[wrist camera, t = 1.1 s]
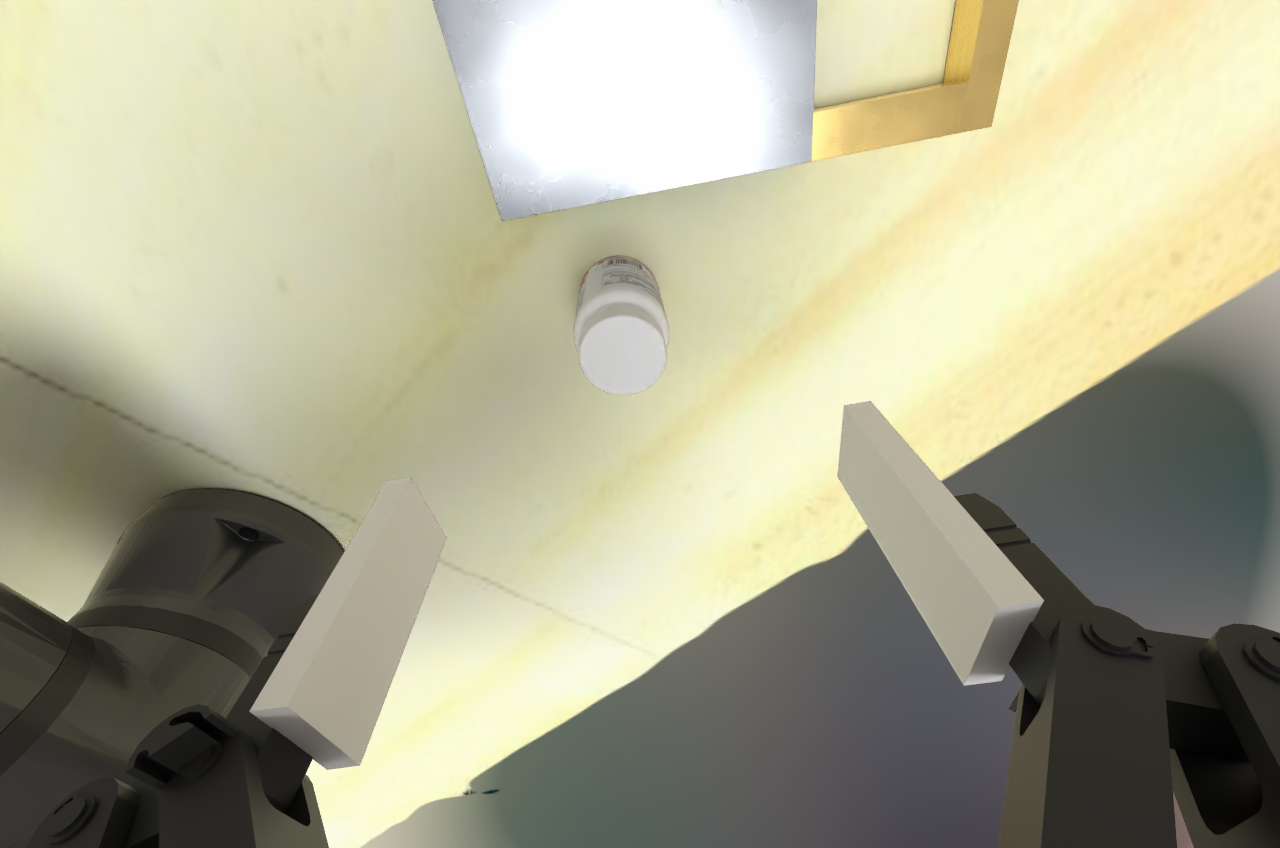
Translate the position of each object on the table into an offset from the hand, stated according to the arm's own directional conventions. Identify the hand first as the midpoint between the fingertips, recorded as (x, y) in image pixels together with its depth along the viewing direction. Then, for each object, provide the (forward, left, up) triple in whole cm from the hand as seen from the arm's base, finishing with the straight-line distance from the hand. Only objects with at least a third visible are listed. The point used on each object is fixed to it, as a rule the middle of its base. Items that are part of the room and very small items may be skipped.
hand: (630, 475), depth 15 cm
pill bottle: (0, 0, -17) cm, 17 cm away
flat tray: (+7, +11, -16) cm, 21 cm away
